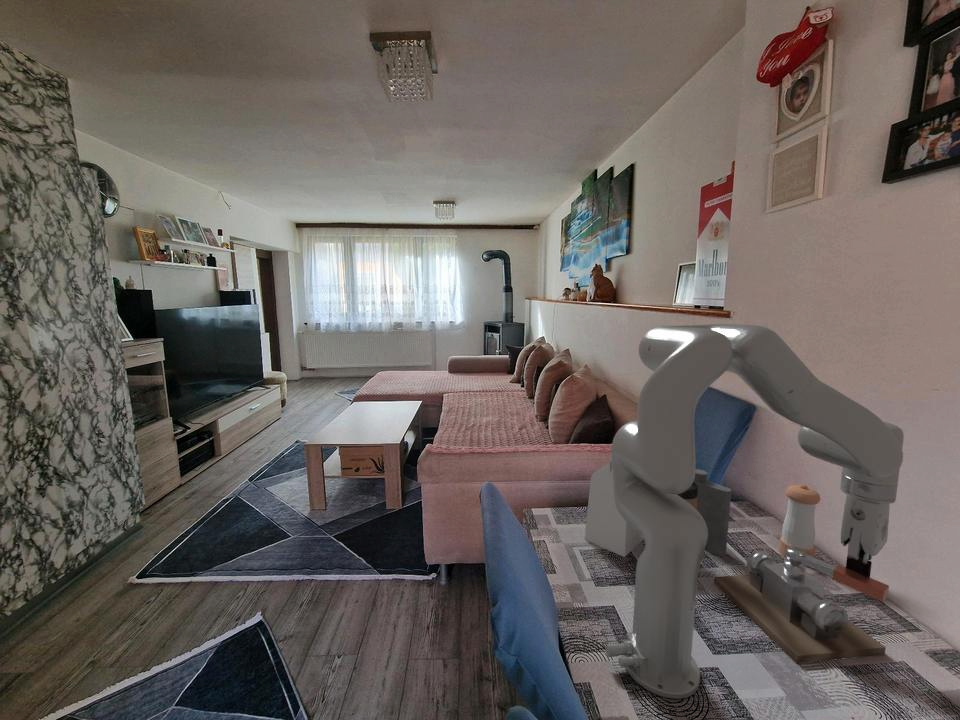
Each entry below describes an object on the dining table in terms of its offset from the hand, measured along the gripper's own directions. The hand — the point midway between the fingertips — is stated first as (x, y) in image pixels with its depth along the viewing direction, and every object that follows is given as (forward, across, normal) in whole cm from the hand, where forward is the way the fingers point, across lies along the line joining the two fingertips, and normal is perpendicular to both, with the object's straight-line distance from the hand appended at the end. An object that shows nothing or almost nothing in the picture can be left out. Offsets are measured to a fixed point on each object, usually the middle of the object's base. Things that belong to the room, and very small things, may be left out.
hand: (857, 578), depth 78 cm
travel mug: (+12, -4, +33) cm, 36 cm away
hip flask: (+12, +8, +35) cm, 38 cm away
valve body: (+11, -3, +9) cm, 14 cm away
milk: (+12, -10, +48) cm, 50 cm away
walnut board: (+12, -3, +9) cm, 15 cm away
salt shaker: (+13, +24, +16) cm, 31 cm away
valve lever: (0, -3, +3) cm, 4 cm away
